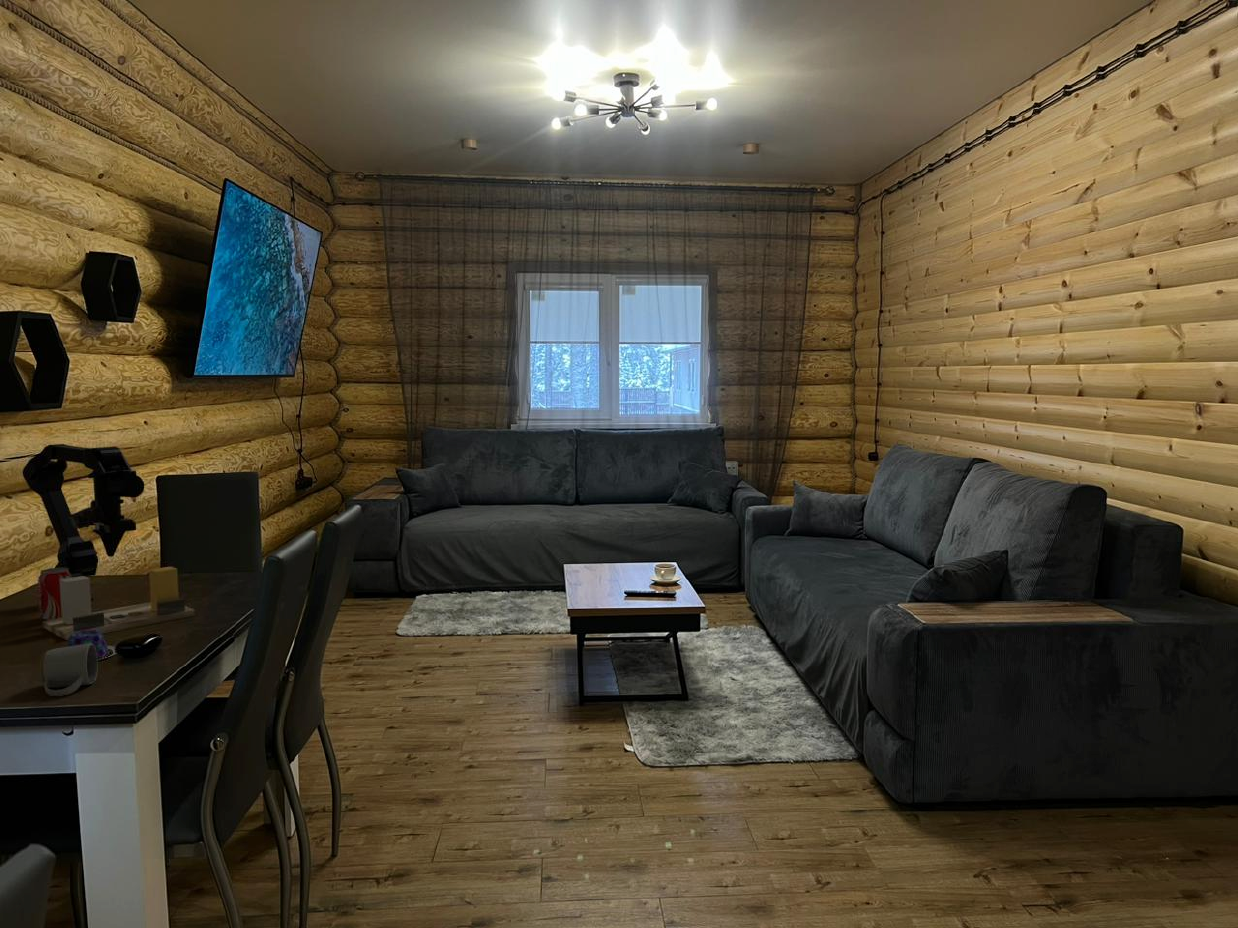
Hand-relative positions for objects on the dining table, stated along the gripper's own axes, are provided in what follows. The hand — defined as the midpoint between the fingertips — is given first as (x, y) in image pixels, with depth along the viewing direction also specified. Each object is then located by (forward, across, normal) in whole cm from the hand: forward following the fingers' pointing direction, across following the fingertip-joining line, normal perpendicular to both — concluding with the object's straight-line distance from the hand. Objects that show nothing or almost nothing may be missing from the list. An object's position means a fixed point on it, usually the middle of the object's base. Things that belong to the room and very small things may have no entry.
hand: (110, 556), depth 223 cm
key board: (+13, +17, -5) cm, 22 cm away
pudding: (+14, +40, -20) cm, 47 cm away
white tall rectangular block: (+12, +16, -14) cm, 24 cm away
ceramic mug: (+14, +59, -30) cm, 67 cm away
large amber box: (+12, +20, +4) cm, 24 cm away
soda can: (+13, +2, -13) cm, 19 cm away
